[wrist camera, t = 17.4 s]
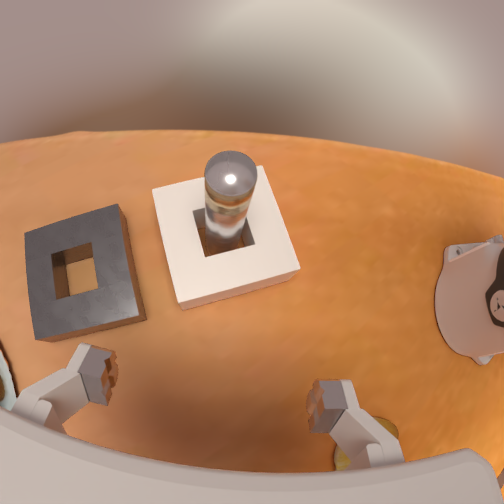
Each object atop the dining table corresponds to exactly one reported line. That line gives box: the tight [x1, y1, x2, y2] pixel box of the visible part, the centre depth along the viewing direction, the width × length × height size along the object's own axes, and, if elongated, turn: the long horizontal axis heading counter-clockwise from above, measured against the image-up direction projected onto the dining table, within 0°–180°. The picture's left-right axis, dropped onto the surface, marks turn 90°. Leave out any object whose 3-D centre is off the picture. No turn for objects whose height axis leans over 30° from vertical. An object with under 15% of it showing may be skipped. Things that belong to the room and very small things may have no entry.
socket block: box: [25, 204, 147, 342], centre depth 30 cm, size 12×12×4 cm
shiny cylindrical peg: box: [205, 151, 257, 256], centre depth 28 cm, size 4×4×15 cm
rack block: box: [152, 165, 301, 310], centre depth 33 cm, size 12×12×5 cm
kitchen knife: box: [497, 469, 504, 490], centre depth 26 cm, size 22×1×3 cm, turn 131°
